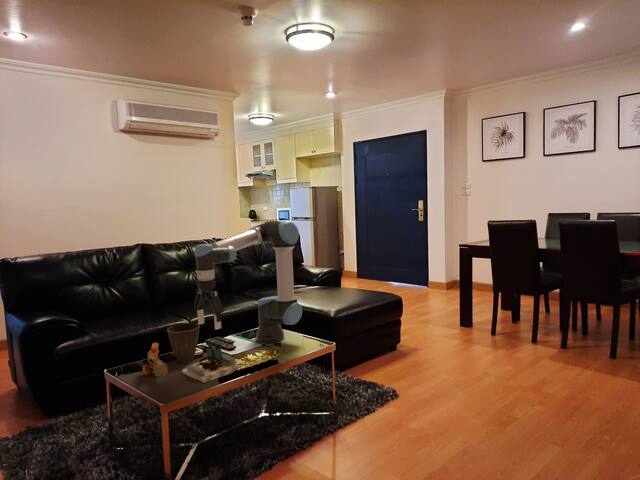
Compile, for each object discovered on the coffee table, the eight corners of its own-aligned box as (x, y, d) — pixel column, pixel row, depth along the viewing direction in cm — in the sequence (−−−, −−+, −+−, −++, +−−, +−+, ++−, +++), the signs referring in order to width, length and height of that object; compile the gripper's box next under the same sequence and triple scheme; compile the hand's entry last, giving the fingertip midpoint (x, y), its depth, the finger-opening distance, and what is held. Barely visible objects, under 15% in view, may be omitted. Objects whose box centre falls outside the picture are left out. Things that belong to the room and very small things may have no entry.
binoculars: (193, 349, 195) (210, 340, 203) (197, 371, 196) (213, 362, 205) (208, 351, 190) (224, 342, 198) (212, 374, 192) (227, 364, 200)
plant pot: (176, 367, 204) (174, 333, 203) (164, 359, 216) (162, 327, 215) (206, 359, 214) (204, 327, 213) (193, 352, 225) (191, 321, 224)
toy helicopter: (160, 368, 204) (158, 339, 203) (176, 381, 188) (174, 349, 187) (141, 373, 199) (139, 343, 198) (157, 386, 183) (155, 354, 182)
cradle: (218, 360, 211) (218, 352, 211) (241, 369, 199) (240, 360, 198) (182, 372, 197) (181, 364, 197) (204, 382, 185) (203, 373, 185)
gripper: (183, 278, 201) (187, 323, 202) (214, 283, 183) (218, 333, 185) (198, 275, 206) (201, 320, 208) (229, 280, 189) (232, 328, 191)
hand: (209, 326), depth 197 cm, fingers open, 13 cm apart
